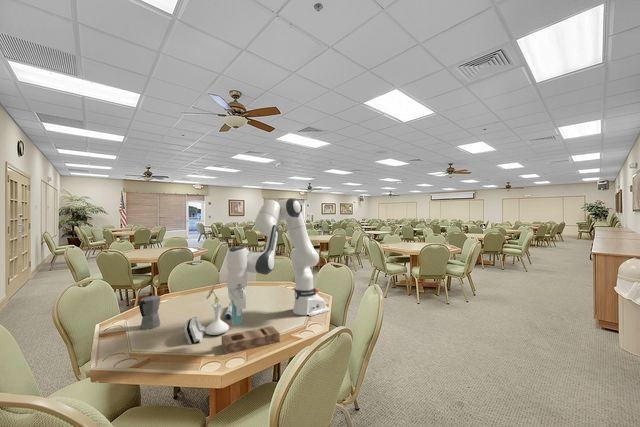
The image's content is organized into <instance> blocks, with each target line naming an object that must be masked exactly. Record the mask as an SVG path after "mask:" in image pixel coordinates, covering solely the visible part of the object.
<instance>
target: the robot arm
mask: <svg viewBox="0 0 640 427" xmlns="http://www.w3.org/2000/svg"><path fill="white" fill-rule="evenodd" d="M280 220H281V221H282V220H285V222H286V227H287V228H286V229H287V232H288V235H289V241H290V243H292V245H293V247H294V248H293V249H292V250H291V251H290V254H289V255H290V260H291V263H292V266H293V271H294V285H295V286H294V294H293V295H294V305H293V309H292V313H293V314H294V315H297V316H307V315H309V316H308V317H312V316H315V315H320V314H323V313H327V312H329V311H330V308H329V307H328V306H327V305H326V300H324V298H323V297H321V296H320V295H319V294H318V293H319V292H320V289H319V288H315V287H314V274H313V272H312V269H311V268H312V267H316V266H317V264H319V262H320V255H319V254H318V252H317V251H316V249H315V248H314V246H313V244H312V241H311V239H310V237H309V234H308V230H307V229H308V228H307V226H306V222H305V219H304V216H303V213H302V204H301V202H300V201H299V200H298V199H297V198H292V197H291V198H287V199H286V198H285V199H280V200H278V201H276V200H274V199H268V200H266V201H264V203H263V204H262V206H261V207H260V209H259V211H258V213H257V215H256V217H255V220H254V227H255V228H256V231H258V232H259V233H260V234H261V235H264V236H265V237H267V239H266V244H265V249H264V250H263V251H261V252H259V251H257V252H256V251H251V250H248V249H247V248H246V246H244V245H237V246H231V247H230V248H229V249H228V251H227V257H226V268H227V274H226V288H227V294H228V299H229V300H230V302H231V301H232V300H233V302H234V305H235V306H236V315H237V316H240V315H241V309H242V310H243V309H246V307H247V293H246V290H245V288H246V287H247V286H248V273H254V274H260V275H268V274H270V273H271V272H272V271H273V270H274V269H275V264H276V253H277V247H278V242H279V236H280V230H279V227H278V226H277V224H278V221H280Z"/></svg>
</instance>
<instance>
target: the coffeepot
mask: <svg viewBox="0 0 640 427" xmlns="http://www.w3.org/2000/svg"><path fill="white" fill-rule="evenodd" d="M148 295H149V296H144V297H142V298H141V299H140V302H139V305H138V307H139V312H140V316H141V317H142V319H141V324H140V329H141V330H143V329H149V330H154V329H157V328H158V326H159V327H160V325H161V320H160V314H159V308H160V303H161V296H160V295H153V292H149V293H148ZM156 327H157V328H156ZM153 328H154V329H153Z"/></svg>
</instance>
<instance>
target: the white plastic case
mask: <svg viewBox="0 0 640 427" xmlns="http://www.w3.org/2000/svg"><path fill="white" fill-rule="evenodd" d="M205 329H206V327H205V326H203V325H202V323H201V321H200V318H199V317H198V316H193V317H191V318H189V319H188V320H186V322H185V324H184V329H183V331H184V334H185V337H186V340H187V343H188V345H192V344H193V343H196V342H199V344H202V341H203V338H204V335H205V333H206V332H205Z"/></svg>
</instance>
